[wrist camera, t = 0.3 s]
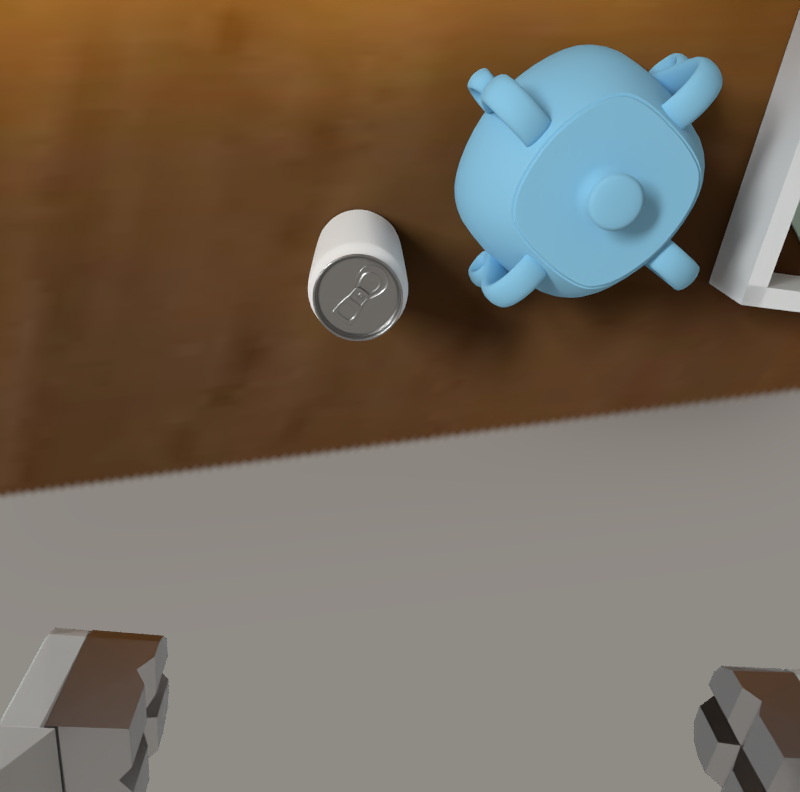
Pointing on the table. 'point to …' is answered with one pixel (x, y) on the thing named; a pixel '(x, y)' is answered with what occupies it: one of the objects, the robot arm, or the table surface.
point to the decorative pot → (583, 172)
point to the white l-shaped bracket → (767, 201)
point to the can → (358, 276)
